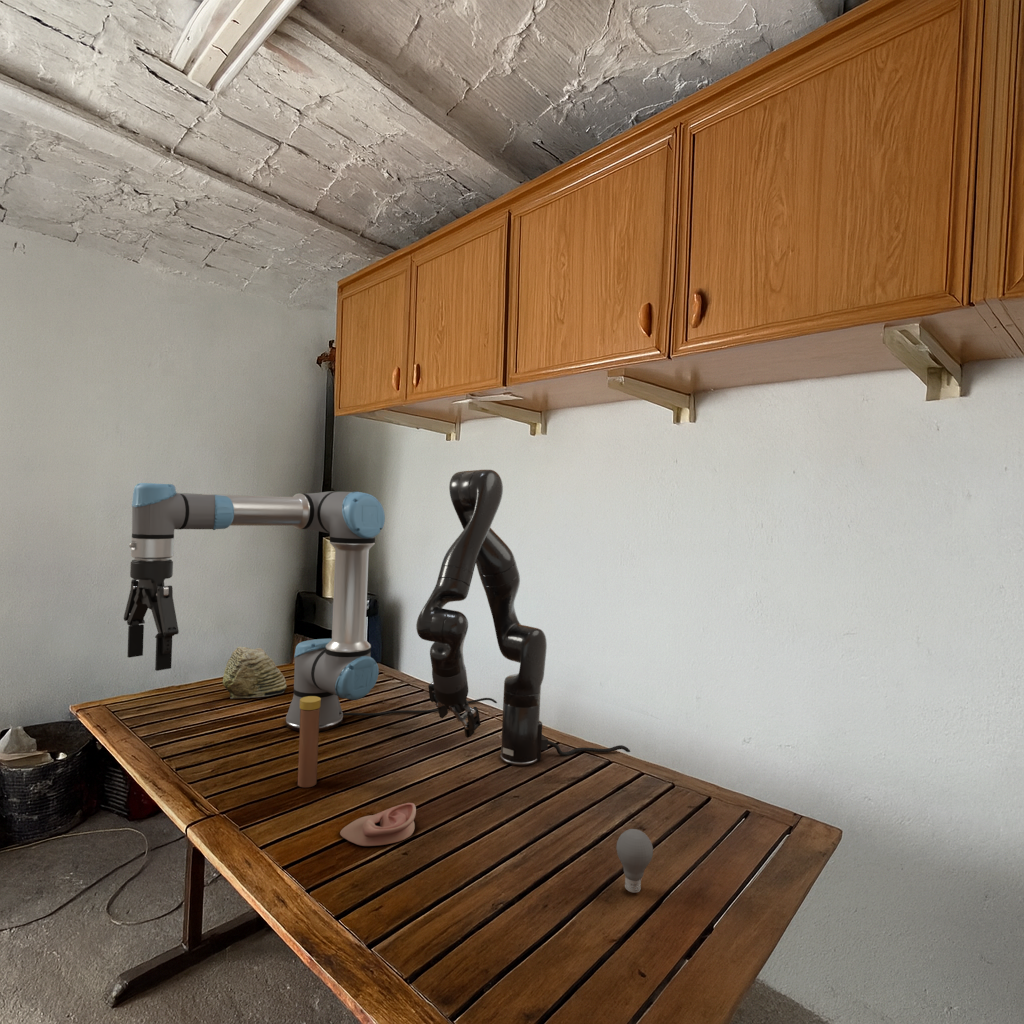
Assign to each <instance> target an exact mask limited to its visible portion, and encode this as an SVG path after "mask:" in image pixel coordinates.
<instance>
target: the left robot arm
mask: <svg viewBox="0 0 1024 1024" xmlns="http://www.w3.org/2000/svg"><path fill="white" fill-rule="evenodd" d="M385 515H386V513H385V511H384V508H383V505H382V503H381V502H380V501H379V500H378V498H377V497H375V495H373V494H370V493H367V492H363V491H362V492H361V491H337V490H336V491H335V490H333V491H332V490H330V491H321V492H311V493H295V494H294V495H293V496H276V495H275V496H274V495H273V496H272V495H248V494H247V495H246V494H244V495H243V494H220V493H219V494H218V493H217V494H216V493H215V494H214V493H189V492H187V493H186V492H177V491H176V486H175V485H174V484H173V483H152V482H139V483H137V484H136V485H135V486H134V488H133V492H132V501H131V520H132V521H131V542H130V543H128V547H129V548H130V549H131V550H130V556H131V558H133V559H132V560H131V561H130V567H129V568H130V571H129V574H130V575H129V576H130V578H131V581H130V590H129V594H128V598H127V603H126V607H125V610H124V615H123V621H124V622H126V624H127V626H128V629H127V630H128V631H127V658H135V657H142V656H144V635H145V634H144V630H145V625H144V624H145V623H146V621H145V619H144V618H145V616H146V615H147V612H148V609H149V610H151V613H152V618H153V620H154V624H155V627H156V631H157V633H156V635H155V636H154V638H155V661H154V663H155V665H154V668H155V669H154V670H155V671H157V672H159V671H164V670H169V669H172V659H173V657H172V655H173V637H175V636H176V635H179V632H180V631H179V625H178V619H177V615H176V614H177V613H176V609H175V603H174V597H173V595H174V593H173V585H165V580H167V579H171V578H172V577H173V575H174V573H173V572H174V561H173V560H172V559H171V558H173V557H174V554H175V553H174V552H175V530H213V531H215V530H224V529H228V528H230V526H233V527H234V526H237V527H238V526H240V527H243V526H246V527H247V526H249V527H250V526H258V527H259V526H268V527H269V526H276V527H277V526H282V527H284V526H285V527H286V526H287V527H288V526H289V527H290V526H291V527H293V528H294V529H296V530H308V531H309V530H310V531H316V532H319V533H325V534H329V544H330V545H331V546H332V547H333V548H334V550H335V551H334V572H333V573H334V577H333V599H332V625H331V626H332V627H331V638H317V639H308V640H304V641H300V642H299V643H297V645H296V646H295V650H294V655H293V657H294V672H293V673H294V674H293V695H292V696H293V697H292V699H291V702H290V704H289V708H288V711H287V713H286V715H285V726H286V728H287V729H289V730H291V731H294V732H295V731H296V732H300V699H301V698H303V697H307V696H317V697H320V698H321V706H320V711H319V732H325V731H329V730H332V729H335V728H337V727H339V726H340V725H342V723H343V722H344V716H345V717H347V716H349V717H350V716H355V717H356V716H361V717H372V716H373V717H375V716H383V715H390V714H391V715H392V714H425V713H435V712H438V708H433V709H424V710H423V709H421V710H419V709H416V710H414V709H413V710H412V709H402V710H401V709H400V710H399V709H398V710H389V711H381V712H343V709H342V706H341V702H340V699H339V698H341V699H342V700H343V699H344V700H348V701H349V700H350V701H357V700H360V699H362V698H364V697H365V696H367V695H368V694H370V692H371V690H372V689H374V687H375V685H376V683H377V682H378V678H379V674H380V672H379V671H380V670H379V669H380V668H379V665H378V663H377V662H376V660H375V659H374V657H371V652H372V649H371V648H372V644H371V643H370V642H368V640H367V639H366V631H367V607H368V606H367V605H368V604H367V602H368V582H369V581H368V579H369V555H370V553H369V552H370V550H371V548H372V547H374V545H375V544H376V536H378V535H379V534H380V533H381V530H383V528H384V526H385V522H386V521H385V520H386V516H385ZM483 701H490V702H493V703H494V704H498V702H497V700H495V699H494V698H492V697H482V698H478V699H473V700H467V702H468V704H474V703H478V702H483Z"/></svg>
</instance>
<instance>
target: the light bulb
mask: <svg viewBox="0 0 1024 1024" xmlns="http://www.w3.org/2000/svg"><path fill="white" fill-rule="evenodd" d="M615 849H616V854H617V857H618V859H619V861H620V863H621V865H622V867H623V873H624V874H623V875H624V876H625V878H624V888H625V890H627V891H628V892H630V893H634V894H635V893H639V892H640V891H641V889H642V887H641V886H642V879H643V877H644V875H645V871H646V868H647V867H648V866H649V864H650V863H651V861H652V859H653V855H654V847H653V843H652V841H651V838H649V836H648V835H647V834H646V833H645V832H643V831H642V830H641V829H636V828H629V829H627V830H625V831H623V832H622V833H621V834H620V835H619V837H618V839H617V841H616V847H615Z"/></svg>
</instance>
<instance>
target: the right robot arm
mask: <svg viewBox="0 0 1024 1024" xmlns="http://www.w3.org/2000/svg"><path fill="white" fill-rule="evenodd" d="M448 486H449V487H448V489H449V496H450V500H451V503H452V506H453V509H454V511H455V513H456V516H457V518H458V520H459V522H460V525H461V527H462V529H463V530H462V532H461V533H460V534H459V535H458V536H457V538H456V539H454V542H453V543H452V544H451V545H450V547H449V548H448V549H447V551H446V553H445V555H444V557H443V558H442V562H441V565H440V569H439V571H438V572H439V573H438V576H437V580H436V583H435V586H434V588H433V590H432V592H431V594H430V596H429V597H428V599H427V601H426V602H425V604H424V606H423V607H422V609H421V611H420V612H419V614H418V617H417V620H416V624H415V629H416V633H417V635H418V637H419V638H420V639H421V640H424V641H427V642H432V644H431V646H430V648H429V657H430V664H431V677H432V682H430V683H429V684H428V686H427V687H428V696H429V697H428V698H429V700H430V702H432V703H435V704H434V705H435V707H436V709H438V711H437V712H438V716H439V718H440V719H444V718H445V717H446V716H447V715H448V714H449V711H450V712H451V713H453V715H454V717H455V718H456V720H457V721H458V722H460V723H461V724H462V726H463V730H464V736H465V737H466V739H469V738H471V737H472V736H473V735H474V734H475V731H476V730H477V729H478V728H479V727H480V726H481V718H480V713H479V708H478V707H477V706H473V707H471V706H469V703H468V702H467V701H468V700H467V698H468V695H469V684H468V683H469V681H468V673H467V667H466V664H465V659H464V644H465V641H466V640H465V639H466V637H467V633H468V629H469V621H468V618H467V616H466V615H465V614H464V613H463V612H461V611H459V610H454V609H447V608H444V607H445V606H446V605H447V604H449V603H453V602H462V601H465V600H466V599H467V597H468V595H469V592H470V589H471V584H472V580H473V575H474V572H475V567H476V569H477V573H478V575H479V579H480V581H481V584H482V587H483V590H484V592H485V597H486V599H487V603H488V607H489V609H490V613H491V617H492V621H493V626H494V631H495V637H496V640H497V645H498V648H499V649H498V650H499V652H500V653H501V655H502V656H503V657H504V658H505V659H507V660H509V661H511V662H515V663H519V670H518V673H513V674H510V675H507V676H506V677H505V679H504V682H503V701H502V703H503V704H502V721H501V722H502V724H501V745H500V760H501V761H502V762H504V763H506V764H507V765H508V764H509V765H512V766H520V767H521V766H530V765H534V764H536V763H537V762H541V761H542V751H547V750H548V749H549V748H548V747H549V746H551V747H553V748H554V749H555V750H556V752H557V754H558V755H560V756H563V757H567V756H571V755H574V754H577V753H581V752H587V753H589V752H590V753H599V754H601V753H602V754H609V753H612V752H615V751H618V750H623V751H625V752H626V753H631V749H629V748H628V747H627V746H625V745H623V744H622V745H621V744H619V745H615V746H612V747H608V748H597V747H584V746H583V747H576V748H573V749H571V750H568V751H562V749H561V748H560V745H559V744H558V743H556V742H554V741H551V740H549V739H548V738H547V736H545V735H544V734H543V722H542V721H541V720H540V713H541V693H542V684H543V682H544V678H545V671H546V670H545V669H546V659H547V648H548V647H547V645H548V644H547V636H546V634H545V632H544V631H543V630H542V629H540V628H538V627H534V626H529V625H525V624H521V623H520V621H519V619H518V616H517V613H516V609H515V601H516V598H517V595H518V592H519V588H520V584H521V575H520V572H519V569H518V568H519V567H518V565H517V561H516V559H515V555H514V553H513V551H512V550H511V548H510V547H509V546H508V545H507V543H506V542H505V541H504V540H503V539H502V537H500V536H499V535H498V533H496V532H495V530H494V529H492V528H491V526H492V524H493V522H494V520H495V517H496V514H497V512H498V510H499V507H500V505H501V502H502V498H503V493H504V485H503V481H502V478H501V476H500V474H499V473H498V472H497V471H495V470H493V469H475V470H463V471H462V470H461V471H457V472H455V473H454V474H453V475H452V476H451V478H450V481H449V485H448ZM463 712H464V713H463ZM466 719H467V721H466Z"/></svg>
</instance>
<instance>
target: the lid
mask: <svg viewBox="0 0 1024 1024" xmlns="http://www.w3.org/2000/svg"><path fill="white" fill-rule="evenodd" d="M320 706H321V698H320V697H317V696H307V697H303V698H301V699H300V709H302V710H315V709H318V708H320Z"/></svg>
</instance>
